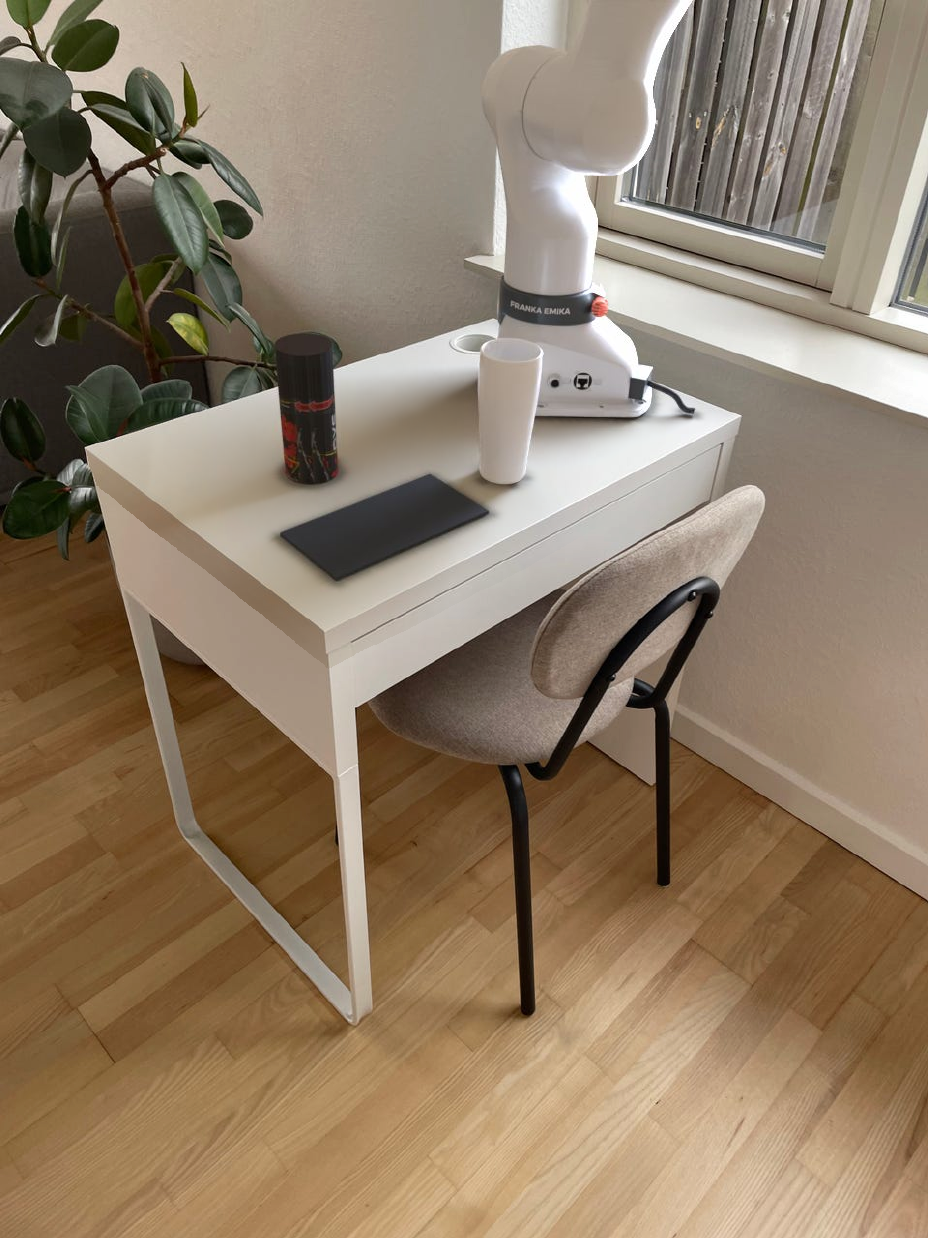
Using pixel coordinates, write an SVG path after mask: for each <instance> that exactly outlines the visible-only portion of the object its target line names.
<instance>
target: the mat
mask: <svg viewBox="0 0 928 1238" xmlns="http://www.w3.org/2000/svg"><path fill="white" fill-rule="evenodd" d="M489 514H490V510H489V509H488V508H486V507H485V506H483V505H481V504H480V503H478V502H477V501H475V500H473V499H472V498H470V497H469V496H467V495H465V494H463V493H462V492H461V491H460V490H459V491H458V490H457V489H455V488H454V487H452V485H449V484H447V483H446V482H445V481H443V480H441V479H440V478H438V477H436V476H435V475H434V474H432V473H428V474H426V475H422V476H420V477H418V478H415V479H413V480H410V481H408V482H406V483H403V484H400V485H397V486H395V487H393V488H389V489H387V490H384V491H383V492H380V493H377V494H375V495H372V496H370V497H367V498H365V499H362V500H359V501H356V502H354V503H352V504H349V505H346V506H344V507H341V508H339V509H336V510H334V511H331V512H329V513H326V514H324V515H321V516H319V517H316V518H313V519H311V520H308V521H305V522H303V523H301V524H298V525H296V526H293V527H290V528H287V529H285V530H282V531H280V532H279V536H280V537H281V538H283V539H284V540H285V541H286V542H287V543H289V544H290V545H291V546H292V547H294V548H295V549H296V550H297V551H299V552H300V553H301V554H302V555H304V556H305V557H306V558H308V559H309V561H311V562H312V563H314V565H316V566H317V567H319V568H320V569H321V570H323V571H324V572H325V573H326V574H327V575H328V576H330V577H331V578H332V579H333V580H335V581H336V582H337V581H339V580H341V579H344V578H347V577H348V576H351V575H353V574H355V573H358V572H360V571H363V570H364V569H367V568H369V567H371V566H373V565H375V564H377V563H380V562H383V561H384V560H387V559H390V558H392V557H394V556H396V555H399V554H400V553H404V552H405V551H407V550H410V549H412V548H414V547H417V546H418V545H421V544H424V543H425V542H428V541H430V540H432V539H435V538H437V537H439V536H441V535H444V534H446V533H448V532H451V531H452V530H455V529H457V528H459V527H462V526H464V525H467V524H468V523H471V522H474V521H475V520H478V519H480V518H482V517H485V516H487V515H489Z"/></svg>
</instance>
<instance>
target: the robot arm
mask: <svg viewBox="0 0 928 1238" xmlns="http://www.w3.org/2000/svg"><path fill="white" fill-rule="evenodd" d="M692 1H693V0H586V4H587V7H586V13H585V16H584V19H583V23H582V26H581V29H580V31H579V34H578V36H577V38H576V40H575V42H574V44H573V45H572V46H571V47H570V48H569V50H568V51H566V50H562V49H558V48H555V47H552V46H548V45H543V44H533V45H523V46H520V47H515V48H512V49H508V50H506V51H504V52H503V53H501V54H500V55H499V56H497V58H495V60H493V62H492V63H491V65H490V67H488V70H487V72H486V74H485V77H484V80H483V81H482V82H483V83H482V88H481V107H482V111H483V114H484V118H485V119H486V121H487V123H488V125H489V127H490V129H491V131H492V134H493V137H494V140H495V144H496V149H497V154H498V155H497V156H498V159H499V165H500V172H501V177H502V184H503V191H504V200H505V210H506V211H505V213H506V226H505V227H506V228H505V246H504V264H503V265H504V266H503V274H502V276H501V278H500V280H499V285H498V289H497V302H496V303H497V306H496V316H497V323H498V328H497V334H496V338H495V339H499V338H516V339H522V340H526V341H530V342H532V343H534V344H536V345H538V346H539V347H540V348H541V349H542V351H543V360H542V376H541V385H540V392H539V397H538V403H537V408H536V413H535V417H580V418H581V417H583V418H584V417H585V418H587V417H588V418H589V417H590V418H638V417H640V416H642V415H643V414H645V413H646V412H647V411H648V409H649V408H650V406H651V402H652V389H654V390H656V391H657V392H658V391H659V392H661V393H664V395H667V396H669V397H670V398H671V399H673V400H674V402H675V403H676V405H677V407H678V408H679V410H681V412H683V413H685V414H690V415H691V414H692V415H695V413H696V407H689V406H687V405H686V404H685V402H684V401H683V400H682V397H680V395H679V394H678V393H677V392H675V390H673V389H671V388H669V387H667V386H665V385H663V384H660V383H658V382H655V381H653V380H652V375H653V369H654V367H653V366H649V365H643V364H639V359H638V354H637V350H636V347H635V345H634V342H633V340H632V339H631V338H630V336H628V335H627V334H626V333H625V332H623V331H622V330H621V329H620V328H619V327H618V326H617V325H616V324H615V323H613V322H612V321H611V319H610V318H608V317H607V316H606V315H607V313H608V311H609V309H608V308H609V302H608V300H607V299H606V292H605V290H604V287H603V284H602V283H599V285H597V283H595V282H594V281H592V275H593V268H594V261H595V260H594V259H595V253H596V246H597V245H596V244H597V236H598V228H599V225H598V223H599V222H598V216H597V212H596V209H595V206H594V205H593V203H592V201H591V199H590V197H589V194H588V190H587V186H586V181H585V177H584V176H596V177H597V176H598V177H600V176H603V177H614V176H619V175H621V174H624V173H626V172H627V171H629V170H630V169H632V168H633V167H634V166H635V165H636V164H637V163H638V162H639V161H640V160H641V159H642V158H643V156H644V155H645V153H646V151H647V149H648V148H649V145H650V143H651V141H652V138H653V134H654V132H655V131H654V130H655V125H656V108H655V107H656V106H655V103H654V97H653V87H654V82H655V77H656V73H657V70H658V67H659V64H660V61H661V58H662V55H663V54H664V53H663V52H664V50H665V48H666V46H667V44H668V42H669V39H670V37H671V36H672V34H673V32H674V30H675V29H676V27H677V25H678V24H679V22H680V21H681V19H682V17H683V16H684V14H685V13H686V11H687V9H688V7H689V6H690V5H691V3H692Z"/></svg>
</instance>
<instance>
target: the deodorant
mask: <svg viewBox="0 0 928 1238" xmlns="http://www.w3.org/2000/svg"><path fill="white" fill-rule="evenodd" d="M273 346H274V356H275V357H274V358H275V366H276V380H277V390H278V402H279V403H278V404H279V414H280V424H281V436H282V448H283V457H284V458H283V459H284V471H285V475H286V477H287V478H288V479H289V480H290V481H292V482H294V483H298V484H301V485H320V484H324V483H328V482H330V481H332V480H333V479H334V478H336V477H337V476H338V474H339V457H338V455H339V454H338V437H337V416H336V395H335V394H336V393H335V375H334V373H335V372H334V355H333V353H334V351H333V342H332V340H331V339H330V338H329V337H326V336H324V335H322V334H317V333H309V332H300V333H292V334H291V333H290V334H287V335H283V336H282V337H280V338H278V339H276V341H275V342H274V345H273Z"/></svg>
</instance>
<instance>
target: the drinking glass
mask: <svg viewBox="0 0 928 1238" xmlns="http://www.w3.org/2000/svg"><path fill="white" fill-rule="evenodd" d="M478 358H479V359H478V370H477V407H478V410H477V411H478V433H479V434H478V436H479V439H478V440H479V463H478V465H479V466H478V470H479V473H480V475H481V477H482V478H483V479H484V480H486V481H488V482H490V483H493V484H496V485H511V484H515V483H518V482H520V481H521V480H522V479H523V478H524V477H525V476H526V472H527V463H528V457H529V456H528V455H529V449H530V444H531V439H532V434H533V429H534V424H535V417H536V416H535V413H536V408H537V403H538V397H539V392H540V385H541V376H542V360H543V351H542V349H541V348H540V347H539V346H538V345H536V344H534V343H532V342H530V341H526V340H522V339H516V338H499V339H496V338H494V339H491V340H488V341H486V342H484V343H483V344H482V345H481V346H480V348H479V357H478Z"/></svg>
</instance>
